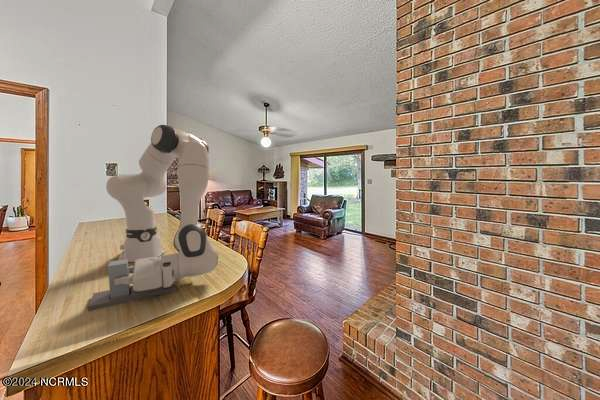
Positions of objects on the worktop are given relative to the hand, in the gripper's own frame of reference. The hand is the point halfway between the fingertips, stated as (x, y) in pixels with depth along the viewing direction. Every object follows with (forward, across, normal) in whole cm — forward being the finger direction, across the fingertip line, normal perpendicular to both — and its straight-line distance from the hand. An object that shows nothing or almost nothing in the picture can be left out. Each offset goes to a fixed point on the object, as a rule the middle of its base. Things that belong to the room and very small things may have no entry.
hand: (115, 277), depth 73 cm
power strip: (-5, 0, +8) cm, 9 cm away
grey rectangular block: (-1, 0, +6) cm, 7 cm away
